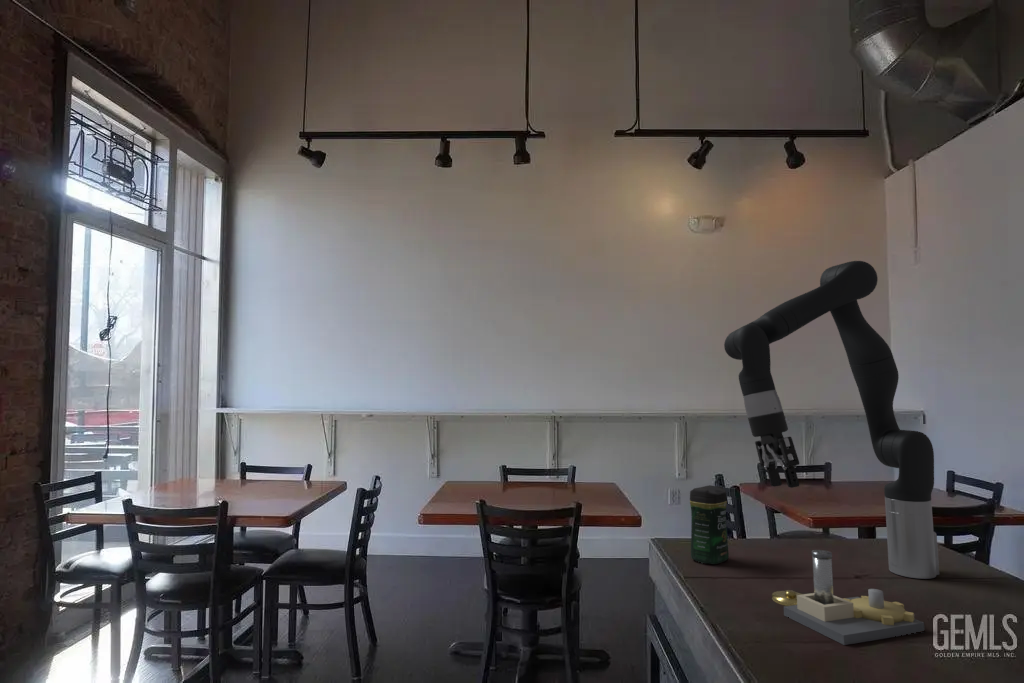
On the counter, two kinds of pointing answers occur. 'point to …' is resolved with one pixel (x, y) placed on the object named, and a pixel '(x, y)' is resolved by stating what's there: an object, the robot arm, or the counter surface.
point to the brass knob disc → (785, 597)
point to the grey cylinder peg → (823, 576)
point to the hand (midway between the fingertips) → (785, 486)
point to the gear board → (854, 617)
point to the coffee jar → (708, 525)
